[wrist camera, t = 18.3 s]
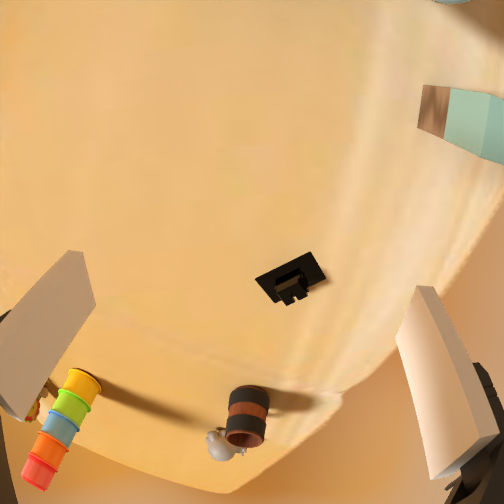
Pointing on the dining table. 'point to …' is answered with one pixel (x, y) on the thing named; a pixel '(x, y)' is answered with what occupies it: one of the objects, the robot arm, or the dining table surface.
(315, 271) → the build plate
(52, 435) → the stacking cups
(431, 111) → the walnut block
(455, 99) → the teal block
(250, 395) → the mug
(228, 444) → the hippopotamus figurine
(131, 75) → the dining table surface
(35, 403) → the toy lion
